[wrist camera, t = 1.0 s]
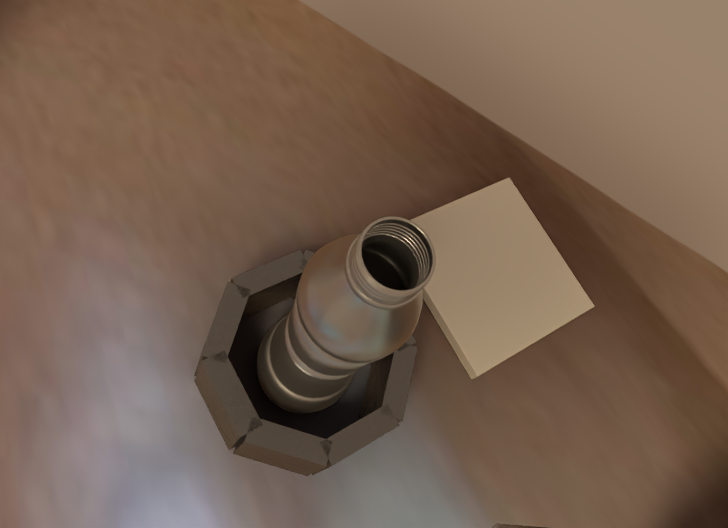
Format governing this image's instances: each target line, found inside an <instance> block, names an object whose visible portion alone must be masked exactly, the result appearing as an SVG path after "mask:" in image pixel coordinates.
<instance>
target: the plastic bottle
mask: <svg viewBox="0 0 728 528" xmlns="http://www.w3.org/2000/svg"><path fill="white" fill-rule="evenodd" d="M435 265H436V256H435V250H434V247H433V244H432V242H431V240H430V238H429V236H428V235H427V234H426V233H425V231H424V230H423V229H422V228H421V227H419V226H418V225H417V224H415V223H414V222H412V221H410V220H408V219H405V218H402V217H397V216H388V217H382V218H380V219H377V220H375V221H374V222H372V223H371V224H369V225H368V226H367V227H366V228H365V229H364V230H363V231H362V233H361V234H351V235H346V236H343V237H340V238H338V239H336V240H333V241H331V242H329V243H327V244H326V245H324V246H323V247H322V248H320V249H319V250H318V251H317V252H316V253H315V254H314V255H313V256H312V257H311V258H310V260H309V261H308V263H307V265H306V266H305V268H304V271H303V273H302V276H301V278H300V281H299V284H298V289H297V293H296V298H295V303H294V305H293V307H292V310H291V312H290V313H289V314H288V315H286V316H284V317H283V318H282V319H280V320H279V321H278V322H277V323H275V324H274V325H273V326H272V327H271V328H270V329H269V330H268V332H267V333H266V334H265V336H264V338H263V339H262V341H261V344H260V347H259V350H258V356H257V375H258V379H259V383H260V385H261V387H262V389H263V392H264V393H265V394H266V396H267V397H268V398H269V399H270V400H271V401H272V402H273V403H274V404H275V405H277V406H278V407H280V408H282V409H283V410H286V411H289V412H293V413H311V412H316V411H320V410H323V409H325V408H327V407H329V406H331V405H333V404H334V403H335V402H336V401H337V400H339V399H340V398H341V396H342V395H343V394H344V393H345V391H346V390H347V388H348V387H349V385H350V383H351V381H352V379H353V377H354V374H355V373H356V371H357V370H358V369H360V368H362V367H363V366H364V365H367V364H369V363H372V362H374V361H377V360H380V359H382V358H384V357H386V356H388V355H389V354H391V353H393V352H394V351H396V350H398V349H399V348H400V347H401V346H402V345H403V344H405V343H406V342H407V340H408V339H409V338H410V336H411V335H412V334H413V332H414V330H415V328H416V325H417V323H418V320H419V317H420V313H421V309H422V305H423V290H422V289H423V288H424V287H425V286H426V284H427V283H428V282H429V281H430V279H431V277H432V275H433V273H434V269H435Z"/></svg>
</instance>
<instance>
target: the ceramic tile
mask: <svg viewBox="0 0 728 528" xmlns="http://www.w3.org/2000/svg"><path fill="white" fill-rule="evenodd" d="M410 221H412V222H414V223H415V224H417V225H418V226H419V227H421V228H422V229H423V230H424V231H425V233H426V234H427V235H428V236H429V238H430V240H431V242H432V244H433V247H434V250H435V256H436V265H435V269H434V273H433V275H432V277H431V279H430V281H429V282H428V283H427V284H426V286H425V287H424V288H423V289H422V290H423V299H424V301H425V303H426V304H427V306H428V308H429V309H430V311H431V313H432V314H433V316H434V318H435V319H436V321H437V323H438V324H439V326H440V328H441V329H442V331H443V333H444V334H445V336H446V338H447V339H448V341H449V343H450V344H451V346H452V348H453V349H454V351H455V353H456V354H457V356H458V358H459V359H460V361H461V363H462V364H463V366H464V368H465V369H466V371H467V373H468V374H469V376H470V378H471V379H474V378H476V377H478V376H479V375H481V374H483V373H484V372H486V371H488V370H489V369H491V368H493V367H494V366H496V365H498V364H499V363H501V362H503V361H504V360H506V359H508V358H509V357H511V356H513V355H514V354H516V353H518V352H519V351H521V350H523V349H524V348H526V347H528V346H529V345H531V344H533V343H534V342H536V341H538V340H539V339H541V338H543V337H544V336H546V335H548V334H549V333H551V332H553V331H554V330H556V329H558V328H559V327H561V326H563V325H564V324H566V323H568V322H569V321H571V320H573V319H574V318H576V317H578V316H579V315H581V314H583V313H584V312H586V311H588V310H589V309H591V308H593V307H594V305H593V303H592V302H591V300H590V299H589V297H588V296H587V294H586V293H585V291H584V290H583V288H582V287H581V285H580V284H579V282H578V280H577V279H576V277H575V276H574V274H573V273H572V271H571V270H570V268H569V267H568V265H567V264H566V262H565V261H564V259H563V258H562V256H561V255H560V253H559V252H558V250H557V249H556V247H555V246H554V244H553V243H552V241H551V240H550V238H549V237H548V235H547V234H546V232H545V231H544V229H543V228H542V226H541V225H540V223H539V221H538V220H537V218H536V217H535V215H534V214H533V212H532V211H531V209H530V208H529V206H528V205H527V203H526V202H525V200H524V199H523V197H522V196H521V194H520V193H519V191H518V190H517V188H516V187H515V185H514V184H513V182H512V181H511V179H510V178H506V179H504V180H502V181H499V182H497V183H495V184H492V185H490V186H488V187H486V188H483V189H481V190H479V191H476V192H474V193H472V194H469V195H467V196H465V197H462V198H460V199H458V200H455V201H453V202H451V203H448V204H446V205H444V206H441V207H439V208H437V209H434V210H432V211H430V212H427V213H425V214H423V215H420V216H418V217H416V218H413V219H411V220H410Z"/></svg>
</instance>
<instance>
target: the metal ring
mask: <svg viewBox="0 0 728 528" xmlns="http://www.w3.org/2000/svg"><path fill="white" fill-rule="evenodd" d="M314 254H315V253H314V252H311V251H308V250H306V249H305V251H304V253H302V252H301V250H298V251H295V252H293V253H291V254H288V255H286V256H283V257H281V258H279V259H276V260H274V261H271V262H269V263H267V264H264V265H262V266H259V267H257V268H255V269H252V270H250V271H247V272H245V273H243V274H240V275H238V276H235V277H233V278H232V279H231V282H228V283H227V286H226V289H225V292H224V294H223V297H222V300H221V302H220V305H219V308H218V310H217V313H216V316H215V318H214V321H213V324H212V327H211V329H210V332H209V335H208V337H207V340H206V343H205V345H204V348H203V351H202V353H201V356H200V360H199V363H198V366H197V369H196V372H195V376H196V379H195V383H196V385H197V387H198V389H199V391H200V393H201V395H202V397H203V399H204V401H205V403H206V405H207V407H208V409H209V411H210V413H211V415H212V417H213V419H214V421H215V423H216V425H217V427H218V429H219V431H220V433H221V435H222V437H223V439H224V441H225V443H226V445H227V447H228V449H229V450H230V449H232V448H234V447H235V450H234V453H233V454H236V455H239V456H243V457H246V458H249V459H253V460H256V461H259V462H263V463H266V464H269V465H272V466H276V467H279V468H282V469H286V470H289V471H292V472H296V473H299V474H302V475H306V476H308V475H310V474H312V475H314V474H316V473H318V472H320V471H322V470H324V469H326V468H328V467H330V466H332V465H334V464H336V463H337V462H339V461H341V460H342V459H344V458H346V457H347V456H349V455H351V454H352V453H354V452H356V451H357V450H359V449H361V448H362V447H364V446H366V445H367V444H369V443H371V442H372V441H374V440H376V439H377V438H379V437H381V436H382V435H384V434H386V433H387V432H389V431H390V430H392V429H394V428H395V427H397V426H399V422H401V421H403V416H404V411H405V406H406V401H407V397H408V392H409V387H410V382H411V377H412V373H413V368H414V363H415V358H416V353H417V349H418V347H415V346H413V345H414V344H415V343H416V340H415V338H414V336H413V335H411V336H410V338H409V339H408V340H407V342H406V343H405V344H403V345H402V346H401V347H400V348H399V349H398V350H396V351H394V352H393V353H391V354H389V355H388V356H386V357H384V358H382V359H380V360H377V361H374V362H372V363H370V364H371V365H372V367H371V371H370V375H369V379H368V384H367V388H366V392H365V396H364V400H363V404H362V409H361V413H360V417H359V420H358V421H356V422H355V423H353V424H351V425H349V426H348V427H346V428H344V429H343V430H341V431H339V432H337V433H336V434H334V435H332V436H330V437H329V438H327V439H324V438H321V437H317V436H314V435H311V434H308V433H305V432H301V431H298V430H295V429H292V428H289V427H285V426H282V425H279V424H276V423H273V422H269V421H266V420H263V419H260V418H259V416H258V415H257V413H256V411H255V409H254V407H253V405H252V403H251V401H250V399H249V397H248V395H247V393H246V391H245V389H244V387H243V385H242V384H241V382H240V380H239V378H238V376H237V374H236V372H235V370H234V368H233V366H232V364H231V362H230V360H229V358H228V354H229V351H230V348H231V345H232V342H233V340H234V337H235V334H236V331H237V328H238V325H239V323H240V320H241V319H243V318H246V317H248V316H250V315H252V314H255V313H257V312H259V311H261V310H263V309H266V308H268V307H270V306H272V305H275V304H277V303H279V302H281V301H283V300H286V299H288V298H293V299H295V298H296V293H297V289H298V284H299V281H300V278H301V276H302V273H303V271H304V268H305V266H306V265H307V263H308V261H309V260H310V258H311V257H312V256H313V255H314Z"/></svg>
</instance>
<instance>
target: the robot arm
mask: <svg viewBox="0 0 728 528" xmlns="http://www.w3.org/2000/svg"><path fill="white" fill-rule="evenodd" d="M492 528H546V527H534V526H521V525H509V524H495V525H494V526H492Z"/></svg>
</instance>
